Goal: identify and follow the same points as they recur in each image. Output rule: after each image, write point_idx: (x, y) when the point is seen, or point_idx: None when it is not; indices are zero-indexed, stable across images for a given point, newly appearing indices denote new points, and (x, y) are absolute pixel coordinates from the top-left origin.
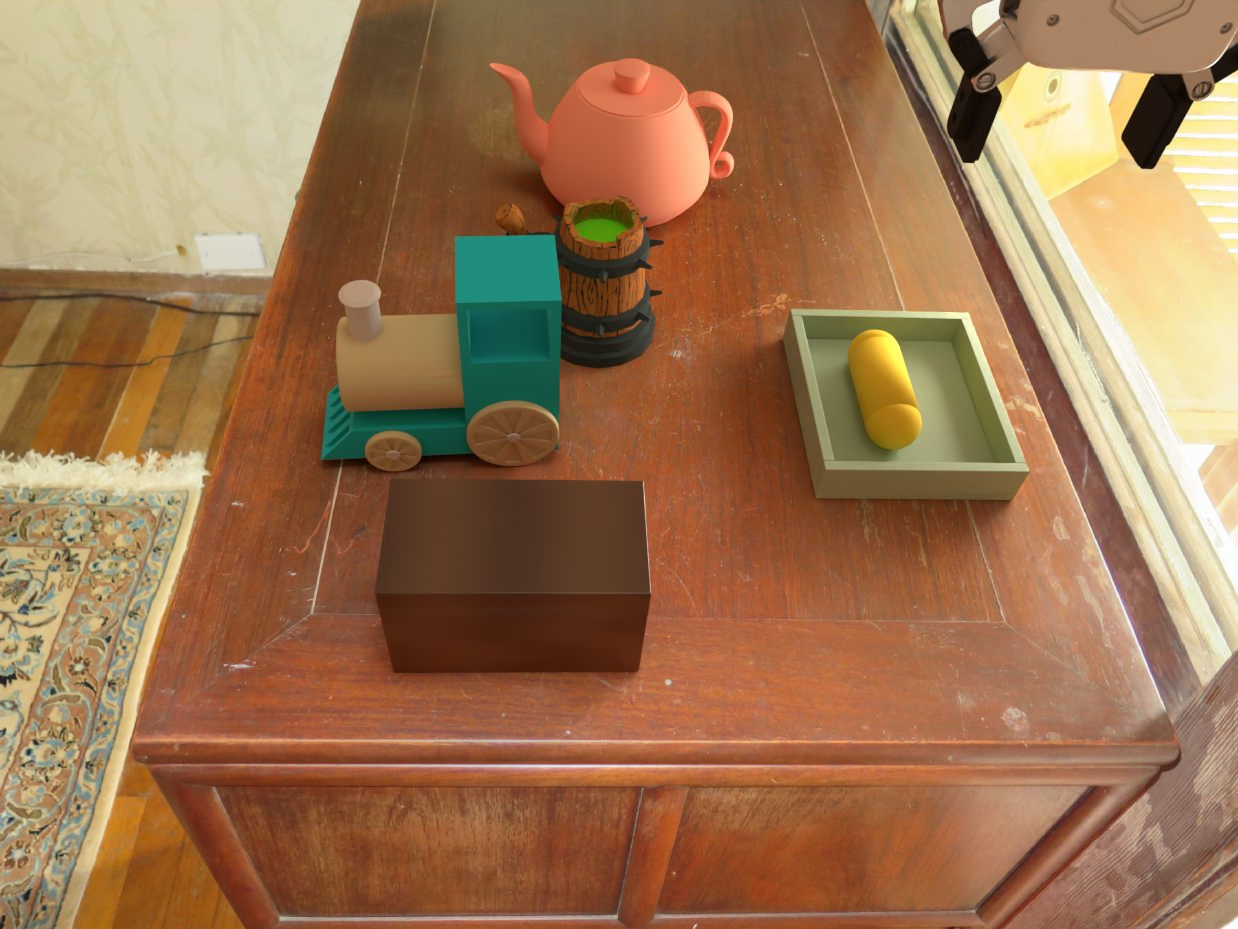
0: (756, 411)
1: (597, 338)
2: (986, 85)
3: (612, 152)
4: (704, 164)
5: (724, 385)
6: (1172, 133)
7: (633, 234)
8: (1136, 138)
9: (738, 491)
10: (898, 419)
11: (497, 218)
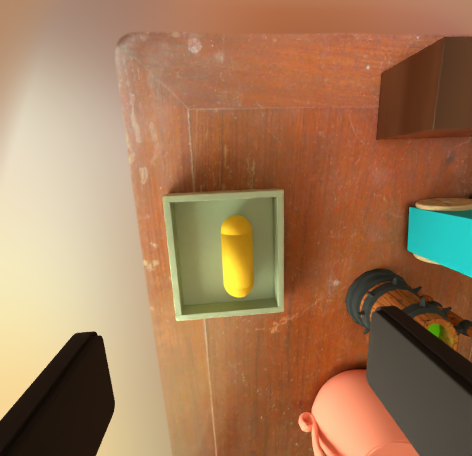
0: (299, 246)
1: (388, 280)
2: None
3: None
4: (324, 417)
5: (314, 263)
6: (29, 389)
7: None
8: (97, 393)
9: (316, 190)
10: (239, 224)
11: None
